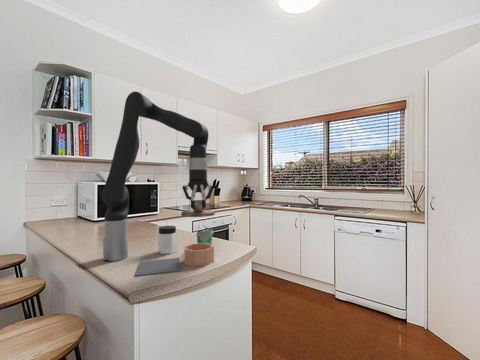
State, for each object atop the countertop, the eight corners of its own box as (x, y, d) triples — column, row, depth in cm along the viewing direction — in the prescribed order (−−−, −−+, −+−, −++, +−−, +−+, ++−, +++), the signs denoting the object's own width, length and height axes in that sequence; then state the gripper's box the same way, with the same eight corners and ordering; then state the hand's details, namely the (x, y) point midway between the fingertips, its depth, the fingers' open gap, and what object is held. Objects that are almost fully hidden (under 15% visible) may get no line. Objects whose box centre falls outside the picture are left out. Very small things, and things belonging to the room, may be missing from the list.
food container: (209, 253, 113) (208, 232, 113) (196, 253, 114) (196, 232, 114) (216, 246, 125) (216, 227, 125) (205, 246, 126) (205, 227, 126)
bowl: (185, 267, 95) (185, 251, 95) (183, 258, 107) (183, 244, 107) (215, 263, 99) (215, 249, 99) (210, 255, 110) (210, 242, 110)
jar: (156, 254, 112) (156, 229, 112) (158, 250, 120) (158, 226, 120) (176, 253, 114) (176, 228, 114) (177, 248, 122) (177, 225, 122)
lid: (182, 217, 94) (182, 201, 94) (180, 213, 108) (180, 199, 108) (217, 216, 98) (217, 200, 98) (211, 212, 112) (211, 198, 112)
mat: (135, 276, 86) (135, 275, 86) (140, 262, 102) (140, 261, 102) (180, 271, 91) (180, 270, 91) (179, 258, 106) (179, 257, 106)
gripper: (181, 168, 97) (181, 210, 97) (215, 168, 101) (216, 209, 101) (180, 169, 105) (180, 208, 104) (212, 169, 109) (213, 207, 108)
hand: (198, 208), depth 103 cm, fingers closed on lid, 3 cm apart
